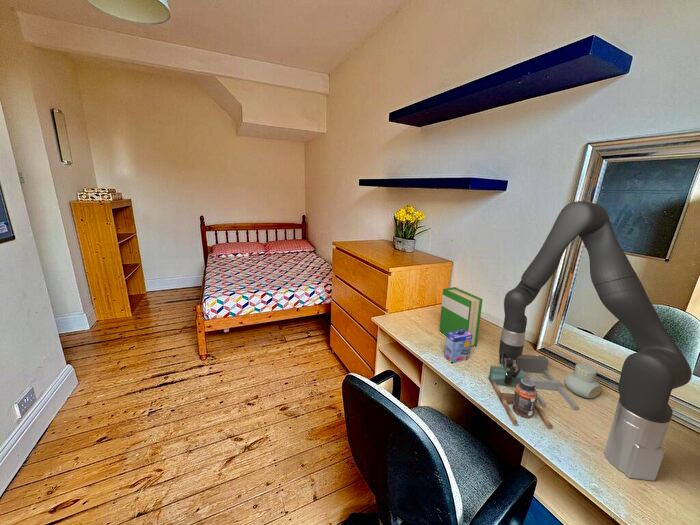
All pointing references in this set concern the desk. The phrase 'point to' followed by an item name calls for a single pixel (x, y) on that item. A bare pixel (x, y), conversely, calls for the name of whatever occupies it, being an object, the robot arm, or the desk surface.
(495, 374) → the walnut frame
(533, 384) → the supplement bottle
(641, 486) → the desk surface
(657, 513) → the desk surface
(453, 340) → the ink cartridge box
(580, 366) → the air freshener
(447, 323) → the hardback book
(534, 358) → the charcoal frame
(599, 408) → the desk surface
